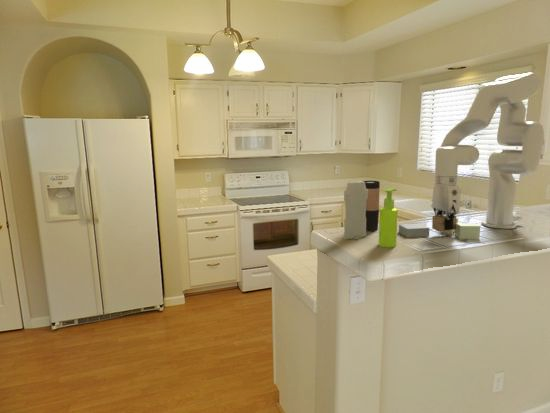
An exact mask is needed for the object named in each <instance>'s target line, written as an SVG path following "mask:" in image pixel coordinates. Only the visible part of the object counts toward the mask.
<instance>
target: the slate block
mask: <svg viewBox="0 0 550 413" xmlns="http://www.w3.org/2000/svg"><path fill="white" fill-rule="evenodd" d="M430 229H431V228H430V227H429V226H426V225H424V224H423V223H405V224H398V233H399V234H401V235H403V236H405V237H406V238H409V237H410V238H411V237H412V238H413V237H429V236H430Z"/></svg>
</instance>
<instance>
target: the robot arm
mask: <svg viewBox="0 0 550 413" xmlns="http://www.w3.org/2000/svg"><path fill="white" fill-rule="evenodd" d="M542 84H543V83H542V78H541V76H540V75H539V74H538V73H535V72H527V73H522V74H515V75H506V76H502V77H500V78H497V79H494V81H493V82H490V83H486V84H484V85H482V86H481V87H480V88H479V90H478V92H477V94H476V96H475V98H474V99H473V102H472V104H471V106H470V108H469V110H468V112H467V114H466V116H465V118H463V119H462V120H461V121H459V123H457V124H456V125H455V126H454V127H452V128H451V129H450V130H449V132H447V134H446V135H445V137H444V139H443V141H442V142H441V145H440V147H437V149H436V150H435V163H434V165H435V166H434V169H435V170H434V185H433V191H432V203H431V205H430V206H431V208H432V210H433V212H434V216H437V215H443V211H445V213H446V219H445V230H449V229H453V219H455V216H458V215H459V214H460V208H461V202H460V201H461V200H460V199H461V198H460V197H461V195H460V189H459V184H458V170H459V168H458V167H459V166H471V165H473V164H475V163H476V162H478V160H479V157H480V151H479V149H478V148H477V147H476V146H474V145H471V144H460V143H461V142H462V141H464V139H465V138H467V137H469V136H471V135H473V134H475V133H478V132H479V131H483V130H484V129H487V127H488V126H489V125H490V124H491V121H492V120H493V117H494V115H495V112H496V111H497V109H498V107H499V109H500V117H499V123H498V127H497V128H498V129H497V132H496V133H497V134H496V141H497V144H499V145H500V146H503V147H522V149H498V150H495V151H492V153H491V154H490V155H489V157H488V161H487V164H488V173H489V182H488V183H489V184H488V194H487V206H486V216H485V219H483V220H481V223H480V224H481V225H482V226H484V227H488V228H491V229H501V230H507V229H509V230H510V229H516V228H517V223H516V222H517V221H522V220H523V219H522V218H523V217H522V216H521V215H515V214H514V208H515V200H516V199H515V198H516V192H517V191H516V190H517V183H516V182H517V181H516V179H515V177H514V176H513V175H522V176H523V175H524V176H530V175H532V174H534V173H535V172H536V171H537V170H538V167H539V164H540V162H541V161H540V160H541V156H542V151H543V150H542V149H543V147H544V146H543V145H544V140H545V139H544V138H545V129H544V127H543V125H542V123H540V122H538V121H525V120H526V114H527V108H526V105H525V103H524V102H523V101H525V100H528V99H530V98H532V97H533V96H535V95H537V94H538V92H539V91H540V90H541V87H542ZM450 212H451V214H450V215H449V213H450ZM515 221H516V222H515Z"/></svg>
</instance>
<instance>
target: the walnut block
mask: <svg viewBox="0 0 550 413" xmlns="http://www.w3.org/2000/svg"><path fill="white" fill-rule="evenodd" d="M449 215H450V214H449ZM457 216H458V215H456V216H455V219H453V229H449V230H454V229H456V219H457V218H458V217H457ZM445 219H446V214H445V215H437V216H435V215H432V220H431V221H432V222H431V223H432V224H431V225H432V226H431V228H432V230H435V231H437V232H440V231H447V230H445Z"/></svg>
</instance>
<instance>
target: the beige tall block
mask: <svg viewBox="0 0 550 413" xmlns="http://www.w3.org/2000/svg"><path fill="white" fill-rule="evenodd" d="M362 181H363V180H362ZM362 181H361V180H354V181H351V182H347V184H346V188H345V191H343V201H344V202H345V203H344V205H345V207H344V208H345V218H344V226H343V227H344V231H343V233H344V234H343V239H344V238H345V239H344V240H347V239H348V240H358V239H362V238H366V237H367V231H366V215H365V214H366V200H367V198H368V190H367V189H366V186H365V182H362Z"/></svg>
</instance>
